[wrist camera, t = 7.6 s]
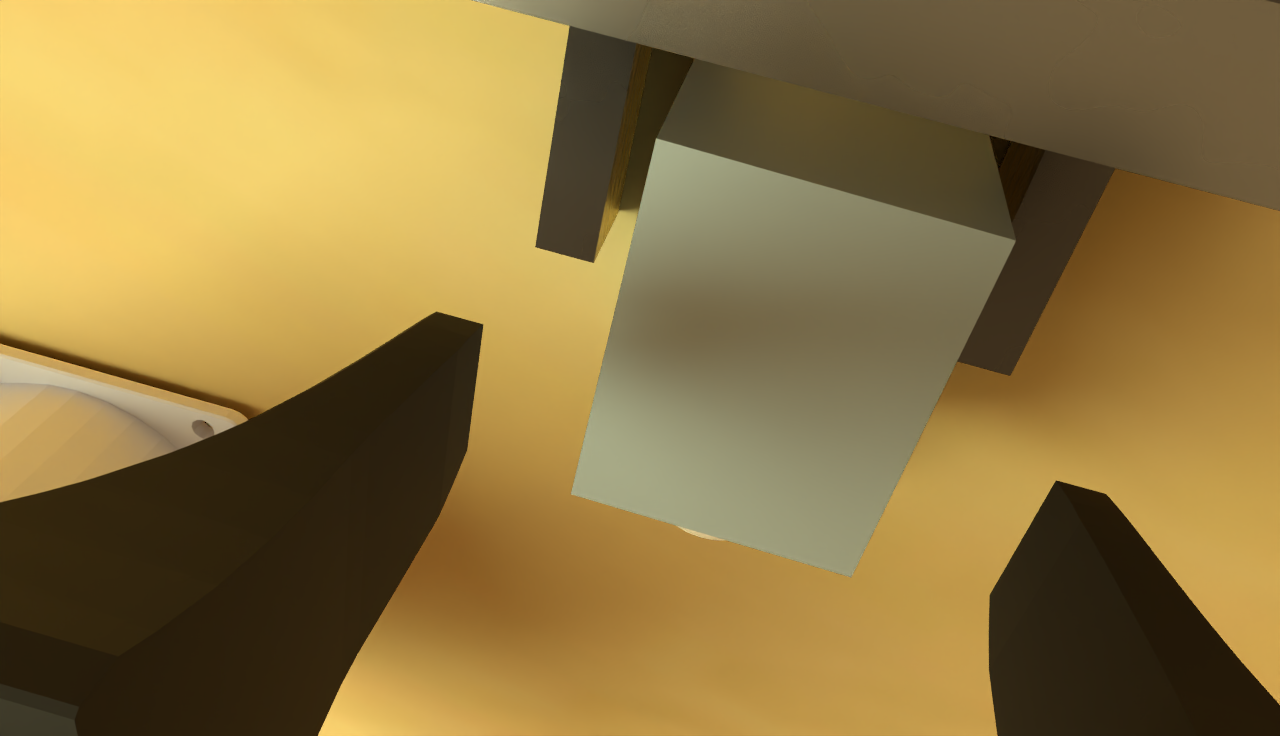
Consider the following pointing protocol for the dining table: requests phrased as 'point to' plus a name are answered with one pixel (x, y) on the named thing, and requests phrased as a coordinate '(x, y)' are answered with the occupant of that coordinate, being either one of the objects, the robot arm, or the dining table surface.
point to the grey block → (789, 313)
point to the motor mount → (951, 104)
